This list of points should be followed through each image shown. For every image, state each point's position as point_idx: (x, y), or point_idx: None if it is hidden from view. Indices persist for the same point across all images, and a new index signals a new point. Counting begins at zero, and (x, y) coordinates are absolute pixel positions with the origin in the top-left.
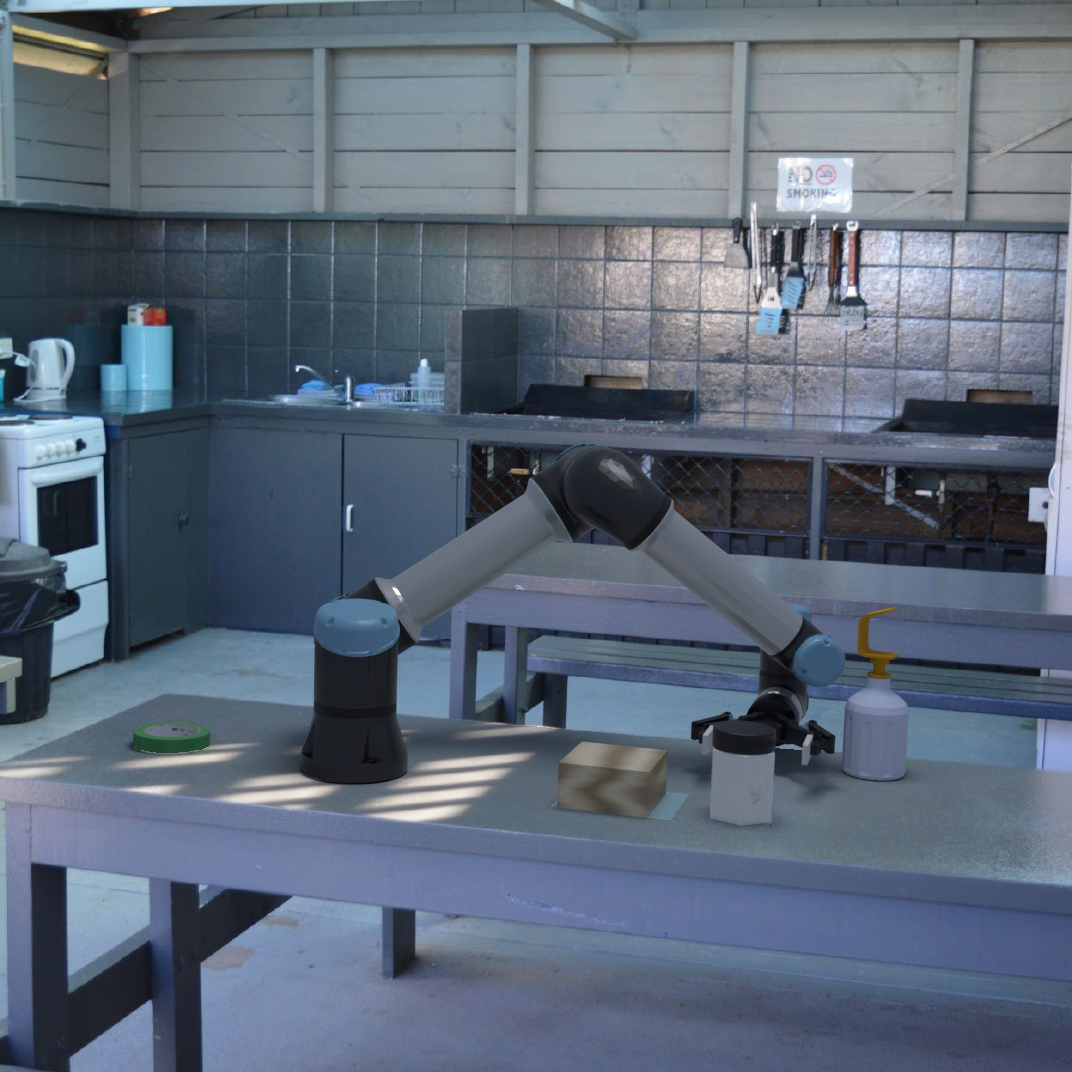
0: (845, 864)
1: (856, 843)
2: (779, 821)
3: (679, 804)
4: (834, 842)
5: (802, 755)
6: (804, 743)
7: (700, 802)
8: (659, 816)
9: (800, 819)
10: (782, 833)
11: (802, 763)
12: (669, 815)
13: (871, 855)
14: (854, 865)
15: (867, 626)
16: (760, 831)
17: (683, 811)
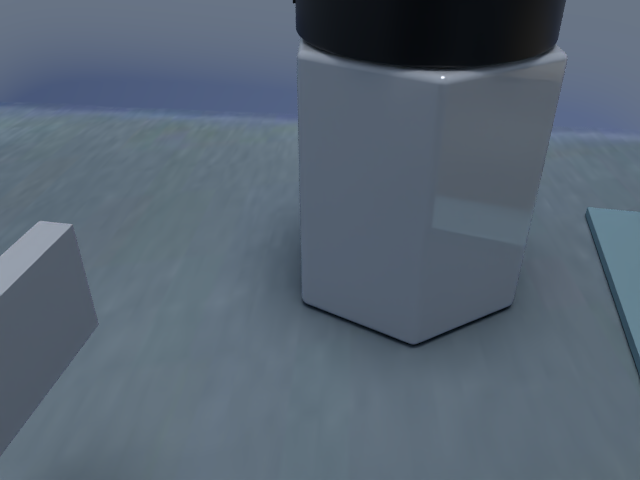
0: (185, 118)
1: (110, 181)
2: (276, 266)
3: (633, 314)
4: (163, 180)
5: (84, 279)
6: (37, 251)
7: (582, 388)
8: (633, 225)
9: (202, 288)
10: (282, 203)
11: (92, 318)
12: (610, 234)
13: (110, 144)
14: (169, 117)
15: None
16: None
17: (597, 296)
